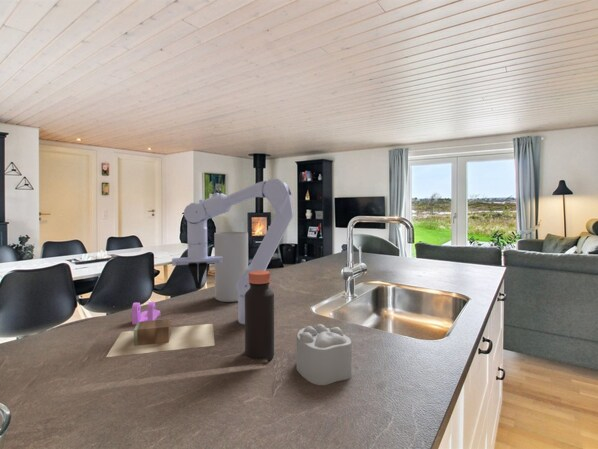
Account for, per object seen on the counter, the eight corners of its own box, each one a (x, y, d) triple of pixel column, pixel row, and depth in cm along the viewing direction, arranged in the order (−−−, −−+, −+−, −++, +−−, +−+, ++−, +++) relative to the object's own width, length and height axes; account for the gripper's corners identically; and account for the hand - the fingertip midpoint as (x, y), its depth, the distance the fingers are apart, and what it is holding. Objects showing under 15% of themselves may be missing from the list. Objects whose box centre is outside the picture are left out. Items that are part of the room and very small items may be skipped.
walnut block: (170, 319, 91) (138, 321, 89) (168, 326, 85) (133, 329, 83) (170, 333, 91) (138, 336, 89) (168, 342, 85) (134, 345, 83)
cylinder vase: (209, 297, 130) (208, 232, 129) (237, 292, 139) (236, 231, 137) (225, 304, 121) (225, 235, 120) (254, 298, 130) (254, 233, 128)
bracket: (152, 327, 99) (152, 303, 99) (132, 328, 98) (131, 304, 98) (161, 313, 112) (161, 292, 112) (143, 314, 111) (143, 293, 110)
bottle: (250, 366, 75) (250, 276, 74) (241, 354, 81) (240, 271, 80) (278, 359, 78) (278, 273, 77) (267, 348, 84) (267, 268, 83)
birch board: (212, 327, 99) (212, 323, 99) (214, 349, 84) (214, 345, 84) (121, 335, 92) (121, 331, 92) (105, 361, 77) (105, 357, 77)
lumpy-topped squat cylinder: (314, 388, 66) (314, 344, 66) (287, 360, 78) (287, 323, 77) (358, 376, 71) (358, 335, 70) (326, 352, 82) (326, 317, 82)
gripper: (221, 241, 108) (221, 283, 109) (173, 242, 104) (173, 286, 105) (222, 243, 101) (223, 288, 102) (171, 245, 97) (171, 291, 98)
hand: (198, 287), depth 103 cm, fingers closed
